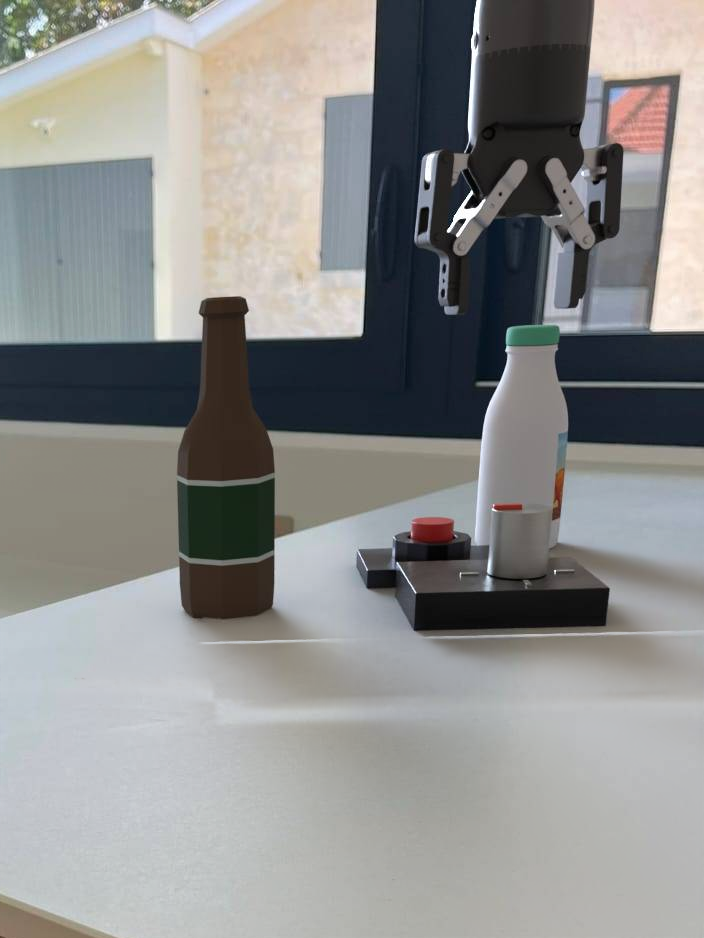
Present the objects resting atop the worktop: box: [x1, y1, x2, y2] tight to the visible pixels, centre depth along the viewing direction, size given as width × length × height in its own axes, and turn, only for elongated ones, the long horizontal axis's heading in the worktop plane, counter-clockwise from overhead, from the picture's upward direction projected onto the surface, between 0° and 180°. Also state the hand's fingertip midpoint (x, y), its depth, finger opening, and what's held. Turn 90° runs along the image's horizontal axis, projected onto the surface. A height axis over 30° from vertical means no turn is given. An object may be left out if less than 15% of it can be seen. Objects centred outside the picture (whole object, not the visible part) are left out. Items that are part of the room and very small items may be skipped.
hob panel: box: [394, 556, 611, 632], centre depth 96 cm, size 14×11×3 cm
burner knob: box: [487, 503, 553, 579], centre depth 94 cm, size 4×4×5 cm
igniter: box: [355, 530, 489, 590], centre depth 108 cm, size 12×9×4 cm
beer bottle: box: [176, 295, 276, 620], centre depth 97 cm, size 8×8×24 cm
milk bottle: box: [474, 324, 569, 550], centre depth 115 cm, size 8×8×20 cm
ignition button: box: [410, 516, 455, 542], centre depth 107 cm, size 4×4×2 cm
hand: (511, 311), depth 87 cm, fingers open, 8 cm apart
